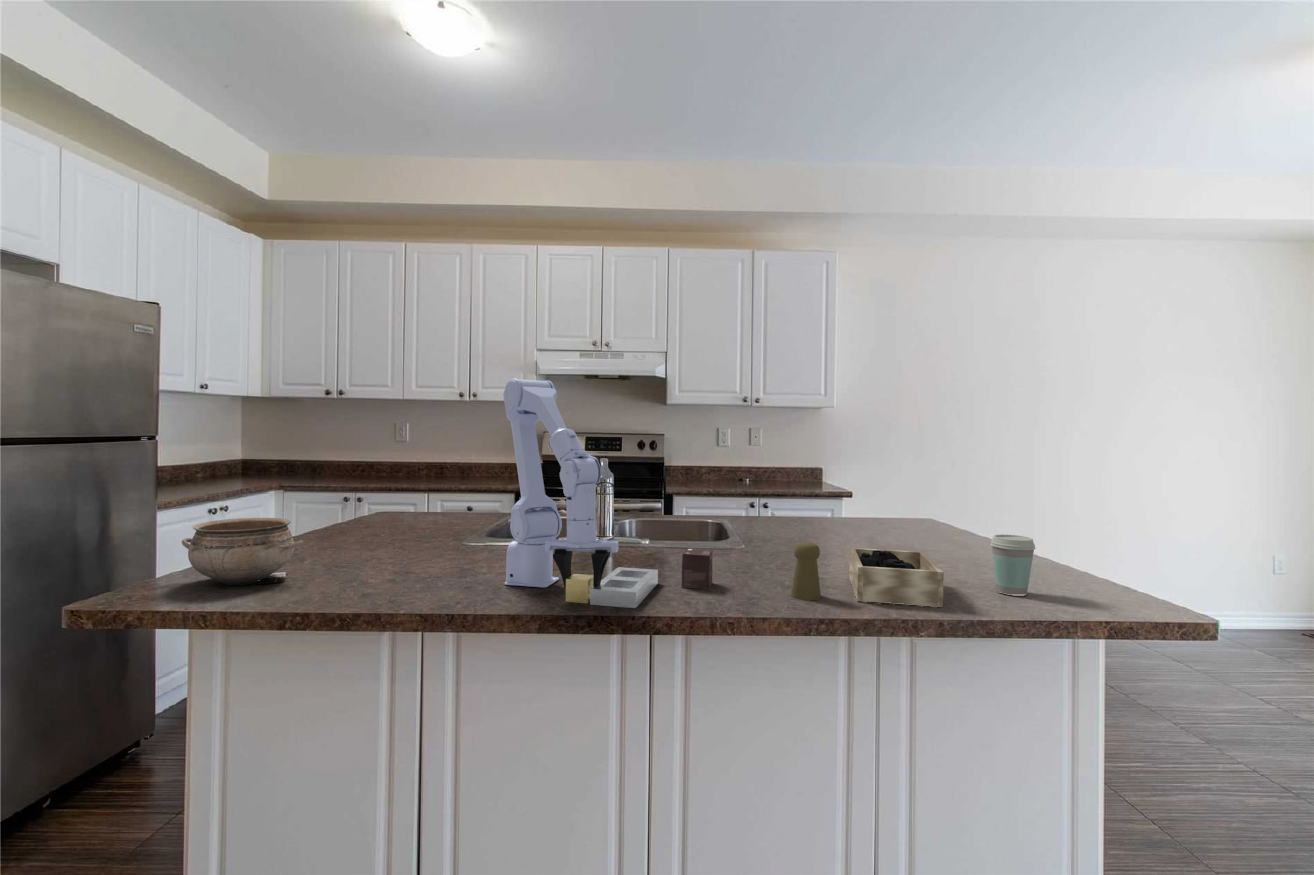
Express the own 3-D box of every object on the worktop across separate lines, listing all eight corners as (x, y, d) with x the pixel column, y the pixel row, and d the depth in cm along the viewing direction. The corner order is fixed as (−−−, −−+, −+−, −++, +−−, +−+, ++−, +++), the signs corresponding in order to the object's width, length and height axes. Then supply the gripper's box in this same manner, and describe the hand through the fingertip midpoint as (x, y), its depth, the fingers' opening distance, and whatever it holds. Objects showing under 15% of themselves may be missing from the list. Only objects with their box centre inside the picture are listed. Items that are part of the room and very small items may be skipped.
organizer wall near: (862, 602, 132) (863, 567, 132) (861, 600, 133) (862, 566, 133) (937, 607, 129) (938, 571, 129) (936, 606, 130) (937, 570, 130)
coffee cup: (1032, 591, 143) (1033, 536, 143) (1036, 600, 136) (1037, 542, 135) (988, 586, 147) (989, 532, 147) (989, 595, 139) (991, 538, 139)
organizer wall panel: (857, 601, 132) (858, 566, 132) (849, 578, 153) (850, 547, 153) (862, 602, 132) (863, 567, 132) (853, 578, 152) (854, 548, 152)
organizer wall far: (854, 579, 151) (854, 548, 151) (853, 578, 152) (854, 548, 152) (918, 583, 149) (919, 552, 148) (918, 582, 150) (918, 551, 149)
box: (709, 589, 140) (709, 555, 140) (681, 587, 141) (681, 553, 141) (712, 583, 146) (713, 549, 146) (685, 581, 147) (686, 548, 147)
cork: (822, 594, 138) (823, 541, 137) (819, 601, 132) (820, 546, 132) (792, 591, 140) (794, 539, 139) (788, 598, 134) (790, 544, 134)
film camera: (936, 600, 135) (938, 556, 135) (898, 604, 131) (900, 559, 131) (885, 583, 149) (887, 543, 149) (850, 586, 145) (851, 545, 145)
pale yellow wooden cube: (565, 601, 128) (565, 578, 128) (573, 596, 133) (573, 573, 133) (587, 603, 127) (588, 580, 127) (594, 597, 132) (595, 575, 132)
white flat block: (590, 604, 127) (590, 588, 126) (617, 580, 146) (618, 567, 146) (635, 608, 125) (635, 592, 125) (657, 583, 144) (658, 569, 144)
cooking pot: (324, 572, 149) (325, 518, 148) (276, 594, 130) (276, 532, 130) (213, 570, 149) (213, 516, 149) (149, 591, 130) (149, 529, 130)
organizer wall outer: (937, 607, 129) (938, 571, 129) (918, 582, 150) (918, 551, 149) (942, 607, 129) (943, 572, 129) (922, 582, 149) (923, 551, 149)
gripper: (538, 521, 127) (539, 591, 127) (611, 521, 124) (612, 594, 124) (551, 516, 134) (552, 583, 134) (620, 517, 131) (621, 585, 131)
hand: (582, 588), depth 130 cm, fingers open, 5 cm apart
